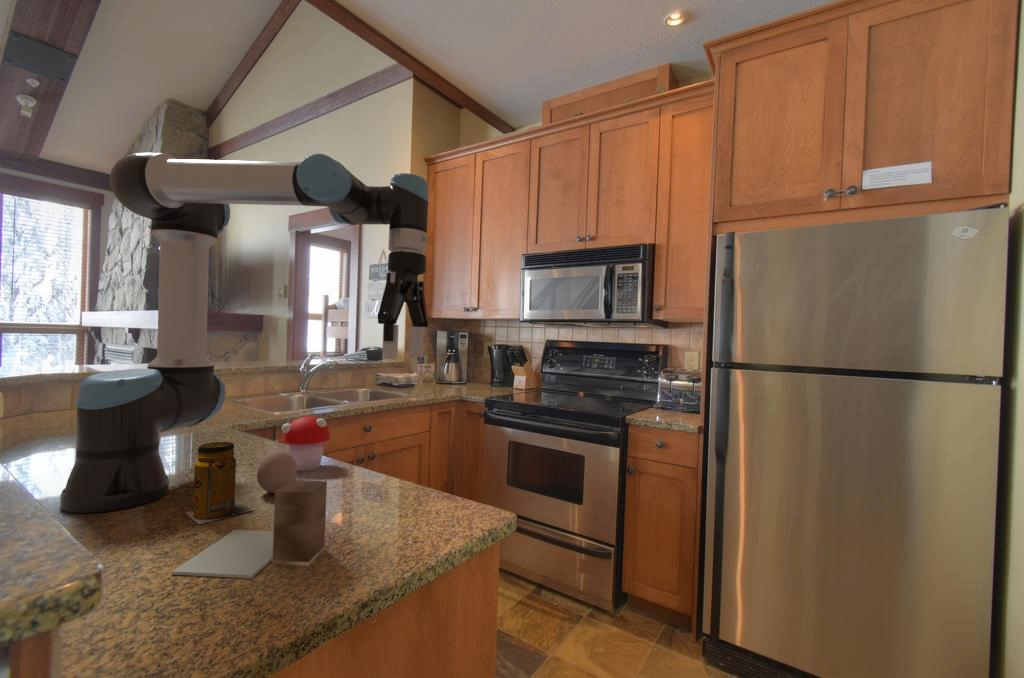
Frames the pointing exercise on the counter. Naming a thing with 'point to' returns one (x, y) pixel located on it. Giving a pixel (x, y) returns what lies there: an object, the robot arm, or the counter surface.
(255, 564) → the mat
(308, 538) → the block
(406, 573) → the counter surface
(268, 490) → the egg
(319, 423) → the mushroom
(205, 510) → the condiment
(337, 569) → the counter surface
